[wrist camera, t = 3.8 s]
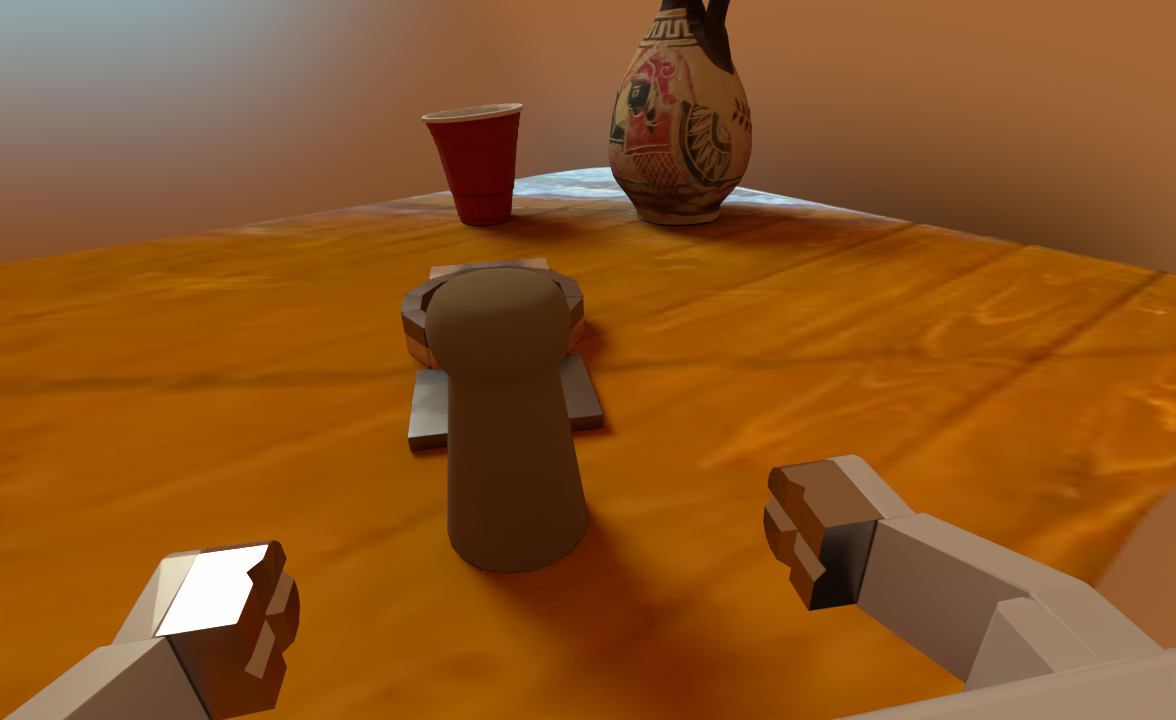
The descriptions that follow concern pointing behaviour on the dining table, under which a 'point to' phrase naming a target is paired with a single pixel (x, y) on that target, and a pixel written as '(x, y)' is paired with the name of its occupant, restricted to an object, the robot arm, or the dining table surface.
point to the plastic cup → (478, 158)
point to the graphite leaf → (433, 384)
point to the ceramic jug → (681, 118)
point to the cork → (507, 419)
